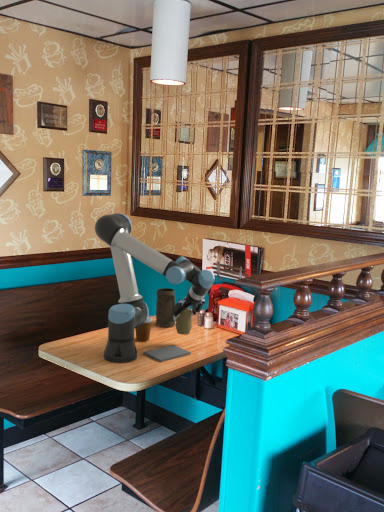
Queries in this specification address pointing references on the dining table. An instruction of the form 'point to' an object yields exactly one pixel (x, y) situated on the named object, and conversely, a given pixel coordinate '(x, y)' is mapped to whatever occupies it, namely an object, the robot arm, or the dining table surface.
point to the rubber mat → (166, 353)
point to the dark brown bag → (165, 307)
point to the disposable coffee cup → (144, 330)
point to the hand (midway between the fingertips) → (181, 318)
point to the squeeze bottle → (184, 322)
